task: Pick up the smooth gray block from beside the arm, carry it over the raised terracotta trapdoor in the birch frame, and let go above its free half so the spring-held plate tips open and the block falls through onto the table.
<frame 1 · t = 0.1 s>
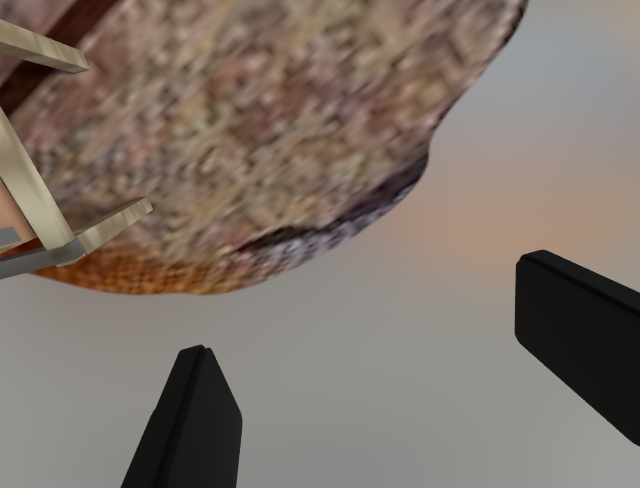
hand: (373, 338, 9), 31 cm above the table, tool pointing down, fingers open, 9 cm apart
trapdoor frame: (44, 156, 33), on the table
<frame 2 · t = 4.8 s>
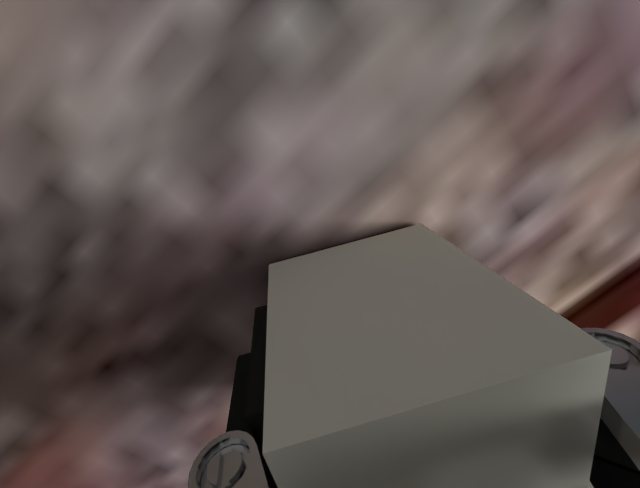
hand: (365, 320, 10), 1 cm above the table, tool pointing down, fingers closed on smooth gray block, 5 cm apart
smooth gray block: (359, 308, 11), on the table, touching gripper
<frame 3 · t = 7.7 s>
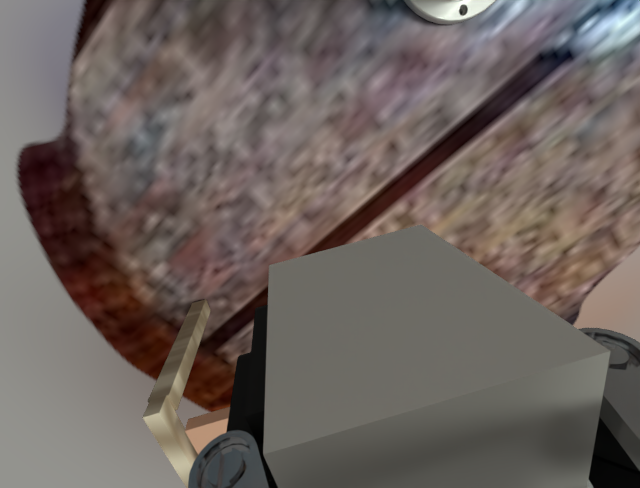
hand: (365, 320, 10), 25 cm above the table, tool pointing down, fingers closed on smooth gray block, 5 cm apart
trapdoor: (285, 455, 25), point 15 cm above the table, hinge at 0.0°
smooth gray block: (359, 309, 11), point 24 cm above the table, touching gripper
trapdoor frame: (280, 339, 39), on the table
when the fingers open (19 cm above the table, at t = 10.4 s): smooth gray block drops 16 cm and tips over, point 2 cm above the table.
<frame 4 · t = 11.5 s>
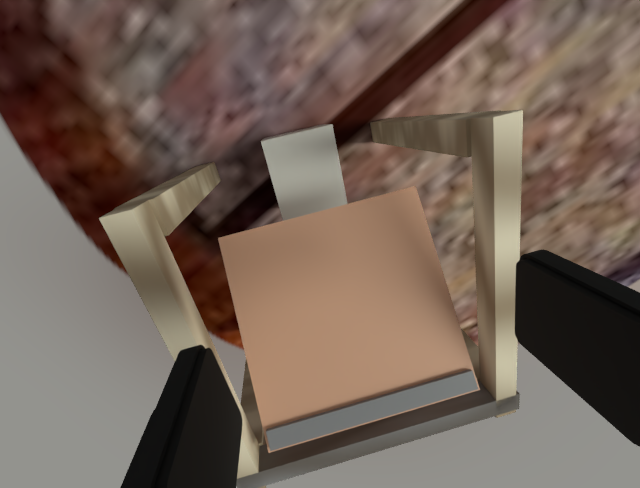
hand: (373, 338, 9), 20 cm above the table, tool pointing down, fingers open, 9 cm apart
trapdoor: (345, 311, 18), point 12 cm above the table, hinge at -28.6°
smooth gray block: (312, 207, 26), point 2 cm above the table, tilted 90°
trapdoor frame: (315, 232, 29), on the table
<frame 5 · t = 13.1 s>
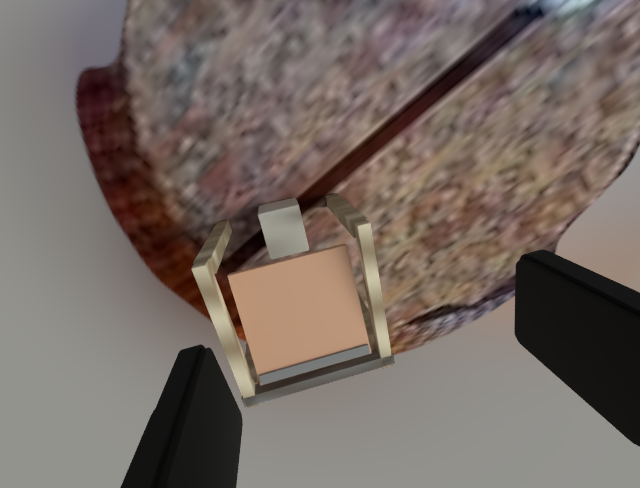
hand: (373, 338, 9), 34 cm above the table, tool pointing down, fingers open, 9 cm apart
trapdoor: (302, 315, 32), point 14 cm above the table, hinge at -10.9°
smooth gray block: (288, 248, 41), point 2 cm above the table, tilted 90°
trapdoor frame: (292, 262, 45), on the table
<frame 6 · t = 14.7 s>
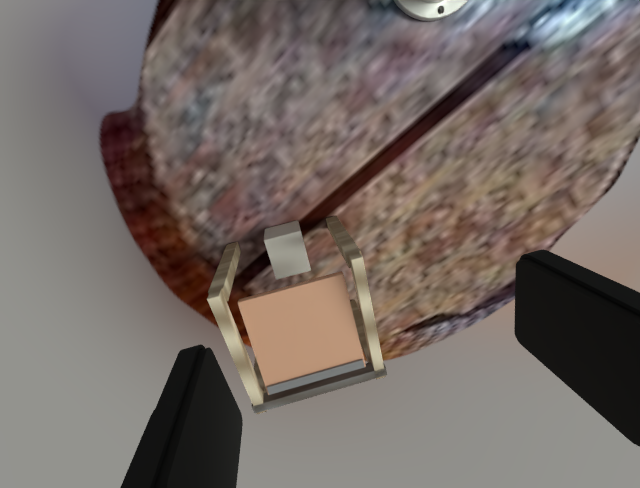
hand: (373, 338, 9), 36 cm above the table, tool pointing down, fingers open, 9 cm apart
trapdoor: (304, 334, 36), point 14 cm above the table, hinge at -9.7°
smooth gray block: (292, 267, 45), point 2 cm above the table, tilted 90°
trapdoor frame: (296, 278, 49), on the table
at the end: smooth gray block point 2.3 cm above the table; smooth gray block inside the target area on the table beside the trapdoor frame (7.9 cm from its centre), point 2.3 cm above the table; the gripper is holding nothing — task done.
